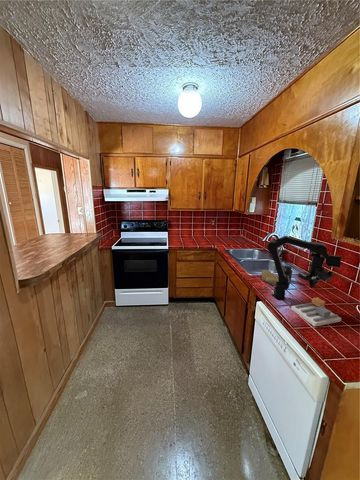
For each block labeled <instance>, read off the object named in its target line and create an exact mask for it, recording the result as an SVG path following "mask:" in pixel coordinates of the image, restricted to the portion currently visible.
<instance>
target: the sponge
mask: <svg viewBox="0 0 360 480" xmlns="http://www.w3.org/2000/svg"><path fill="white" fill-rule="evenodd" d="M260 275H261V279H263V281H265V283H267V284H270V285H272V286H275V285H276V282H278V281H279V280H278V275H277V274H274V273H273V272H272V271H270V270H266V269H264V270H262V271H261V274H260Z"/></svg>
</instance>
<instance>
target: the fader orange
mask: <svg viewBox="0 0 360 480" xmlns="http://www.w3.org/2000/svg"><path fill="white" fill-rule="evenodd" d="M311 303H313V304H315V306H316V307H321V306H322V307H323V306H324V307H325V305H326V301H324V300H322V299H321V298H320V297H313V298H312V299H311Z"/></svg>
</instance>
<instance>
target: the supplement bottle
mask: <svg viewBox="0 0 360 480" xmlns="http://www.w3.org/2000/svg"><path fill="white" fill-rule="evenodd" d="M292 268H293V267H292V265H289V264H285V265H284V267H283V270H284V273H285V275H286V276H287V275H289V279H290V282H292V277H293V269H292Z"/></svg>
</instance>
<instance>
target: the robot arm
mask: <svg viewBox="0 0 360 480" xmlns="http://www.w3.org/2000/svg"><path fill="white" fill-rule="evenodd" d="M284 244H288V245H292V246H296V247H299V248H303V249H307V250H308V251H311V252H310V253H309V257H312V259H311V263H310V264H308V266H309V267H310V268H309V270H307V272H306V271H301V272H299V273H298V277H299V278H300V279H302V280H305V281H307V282H308V283H309V287H310V288H311V289H314V288H315V286H317V284H318V282H319V281H322V282H329V281H330V280H331V279H333V277H334V272H333V271H327V270H325V269H326V268H325V267H324V264H325V265H326V266H327V267H330V268H331V267H332V268H338V269H340V268H341V266H342V263H341V262H342V256H341V255H333V254H330V253H329V251H328V249H327V246H326V244H325V243H323V242H318V241H306V240H303V239H299V238H295V237H291V236H288V235H284V236H281V237H280V238H277V239H275V240H274V239H272V240H269V241H268V243H267V246H266V249H267V251H268V252H269V254H270V256H271V257H272V260H273V263H274V267H275V270H276V273H277V276H278V280H279V281H278V282H276V285H274V289H273V294H271V297H273V298H274V299H276V300H277V301H283V300H287V297H286V290H288V289H289V288H290V285H291V281H290V279H289V275H287V276H286V275H285V273H284V270H283V269H284V267H283V264H282V260H281V257H280V253H279V248H280V247H281V246H283V245H284Z"/></svg>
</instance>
